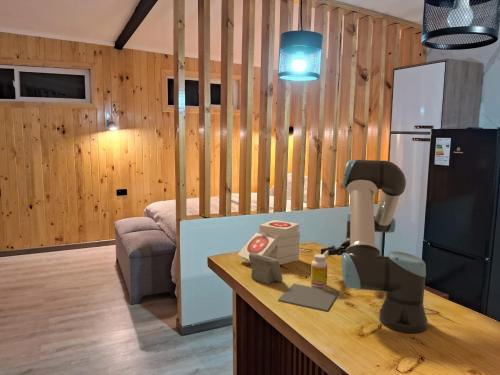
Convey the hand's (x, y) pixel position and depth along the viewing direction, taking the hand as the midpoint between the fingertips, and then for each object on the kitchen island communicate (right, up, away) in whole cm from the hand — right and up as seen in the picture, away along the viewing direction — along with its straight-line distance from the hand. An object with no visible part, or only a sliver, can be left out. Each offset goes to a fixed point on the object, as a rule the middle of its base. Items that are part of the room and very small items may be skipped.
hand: (339, 260), depth 158 cm
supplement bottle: (-9, -11, +1) cm, 14 cm away
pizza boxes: (-27, -7, +32) cm, 42 cm away
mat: (-14, -12, -11) cm, 22 cm away
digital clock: (-31, -10, +7) cm, 33 cm away
